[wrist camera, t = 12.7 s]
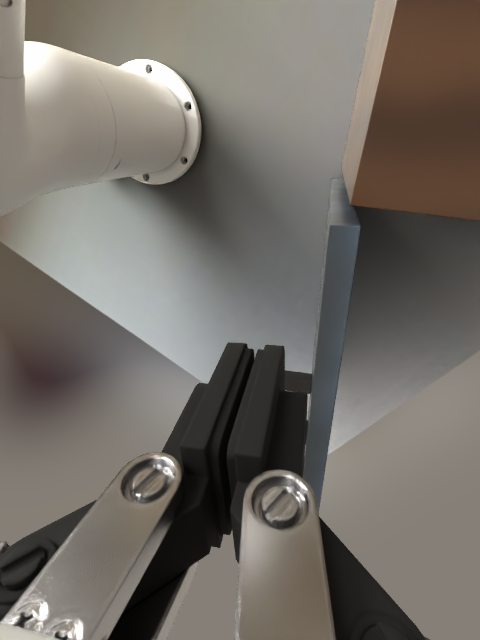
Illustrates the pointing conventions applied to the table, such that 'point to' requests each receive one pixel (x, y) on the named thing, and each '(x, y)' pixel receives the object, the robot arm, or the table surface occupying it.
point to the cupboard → (418, 111)
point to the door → (328, 333)
